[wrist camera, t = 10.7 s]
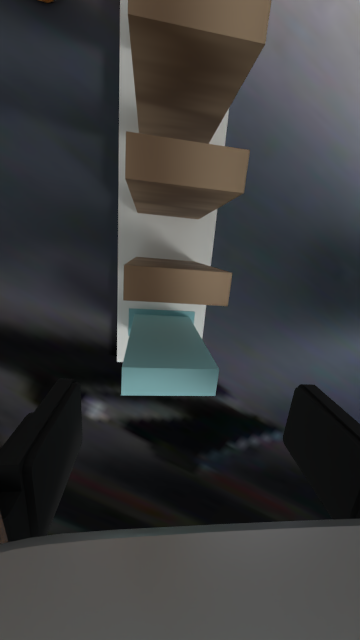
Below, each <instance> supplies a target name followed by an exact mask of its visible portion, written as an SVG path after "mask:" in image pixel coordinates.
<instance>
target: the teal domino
mask: <svg viewBox="0 0 360 640" xmlns="http://www.w3.org/2000/svg"><path fill="white" fill-rule="evenodd" d="M218 374H219V368H218V367H217V365H216V363H215V361H214V359H213V358H212V356H211V354H210V352H209V351H208V349H207V347H206V345H205V344H204V342H203V340H202V338H201V337H200V335H199V333H198V331H197V330H196V328H195V326H194V324H193V323H192V321H191V319H190V317H183V316H164V315H146V314H134V318H133V322H132V326H131V331H130V335H129V339H128V344H127V348H126V352H125V357H124V361H123V365H122V388H121V395H156V396H215V394H216V387H217V381H218Z"/></svg>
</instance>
